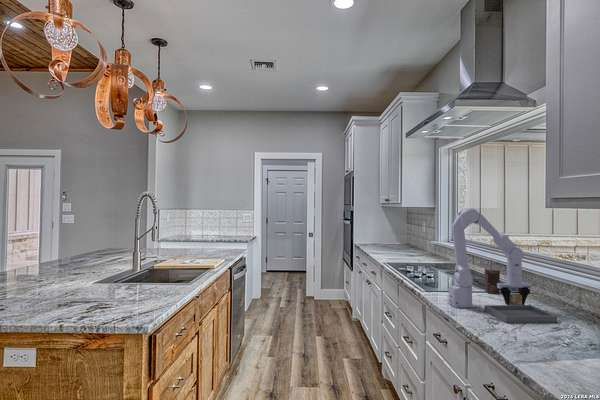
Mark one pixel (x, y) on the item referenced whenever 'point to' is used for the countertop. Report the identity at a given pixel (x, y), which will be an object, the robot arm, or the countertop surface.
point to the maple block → (515, 299)
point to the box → (492, 280)
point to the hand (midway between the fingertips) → (514, 304)
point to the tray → (520, 314)
